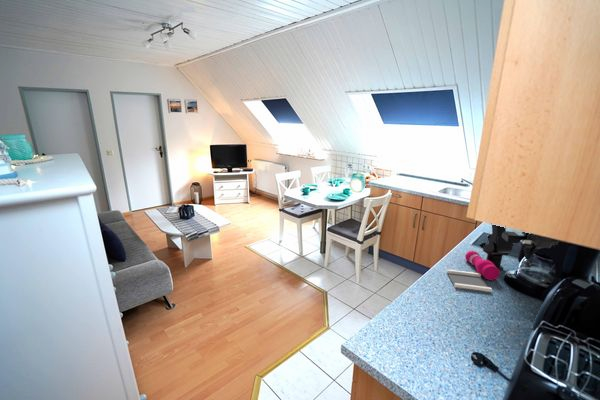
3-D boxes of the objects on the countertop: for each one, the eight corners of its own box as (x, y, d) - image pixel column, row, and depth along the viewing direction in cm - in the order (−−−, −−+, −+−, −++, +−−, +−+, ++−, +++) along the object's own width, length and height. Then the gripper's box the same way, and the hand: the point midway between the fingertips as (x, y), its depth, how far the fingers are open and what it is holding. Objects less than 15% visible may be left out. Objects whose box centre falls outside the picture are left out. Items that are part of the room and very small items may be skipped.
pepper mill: (502, 266, 114) (477, 247, 133) (484, 264, 115) (462, 246, 134) (498, 282, 116) (474, 261, 135) (480, 280, 116) (459, 259, 136)
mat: (446, 273, 122) (447, 269, 121) (479, 277, 119) (480, 273, 119) (454, 288, 111) (455, 284, 110) (491, 293, 108) (492, 289, 107)
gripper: (519, 227, 99) (510, 265, 104) (581, 232, 95) (569, 272, 99) (505, 217, 110) (497, 252, 114) (560, 221, 106) (549, 258, 110)
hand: (527, 259), depth 109 cm, fingers closed
